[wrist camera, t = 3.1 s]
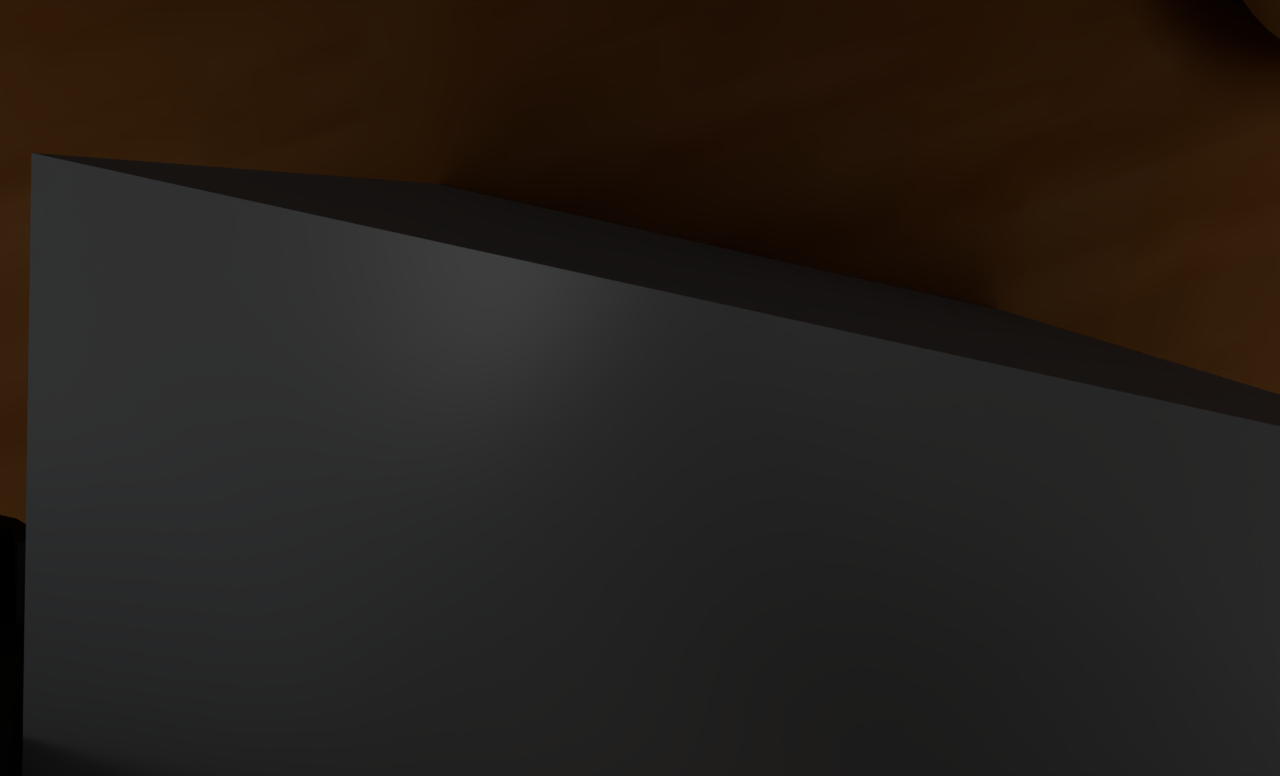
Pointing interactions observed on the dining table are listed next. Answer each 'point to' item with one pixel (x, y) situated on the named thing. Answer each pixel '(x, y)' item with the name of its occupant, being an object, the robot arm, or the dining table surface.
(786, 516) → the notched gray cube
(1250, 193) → the dining table surface
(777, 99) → the dining table surface
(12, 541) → the robot arm
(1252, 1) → the ball
